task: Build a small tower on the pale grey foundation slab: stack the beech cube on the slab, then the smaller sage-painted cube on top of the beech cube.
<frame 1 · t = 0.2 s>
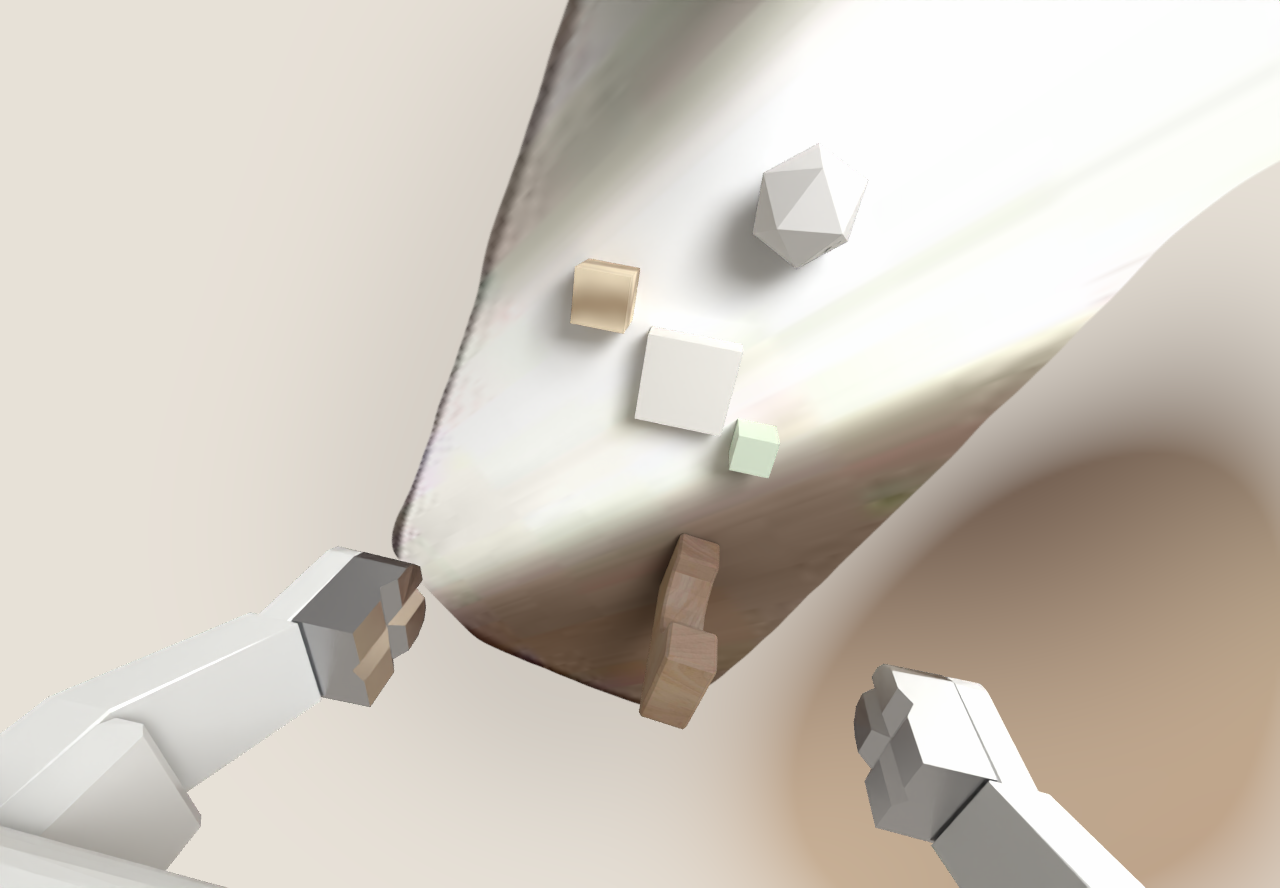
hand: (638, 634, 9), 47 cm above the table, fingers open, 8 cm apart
beech cube: (611, 289, 53), on the table
sage cube: (752, 438, 59), on the table
die: (800, 205, 47), on the table
decorative block: (688, 564, 70), on the table
foundation slab: (687, 377, 56), on the table
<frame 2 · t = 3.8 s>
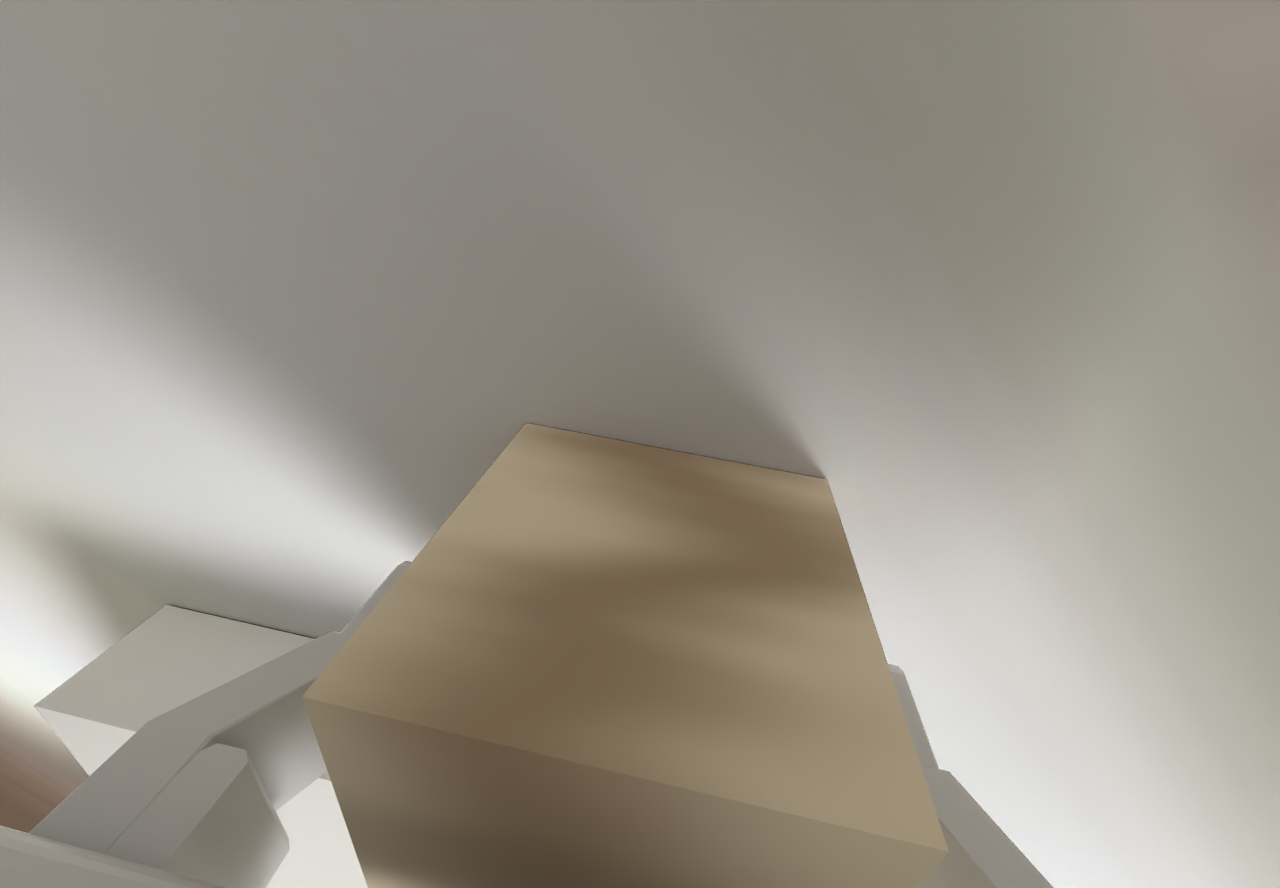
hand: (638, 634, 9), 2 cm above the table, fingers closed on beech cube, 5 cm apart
beech cube: (652, 564, 10), on the table, touching gripper
foundation slab: (363, 747, 16), on the table
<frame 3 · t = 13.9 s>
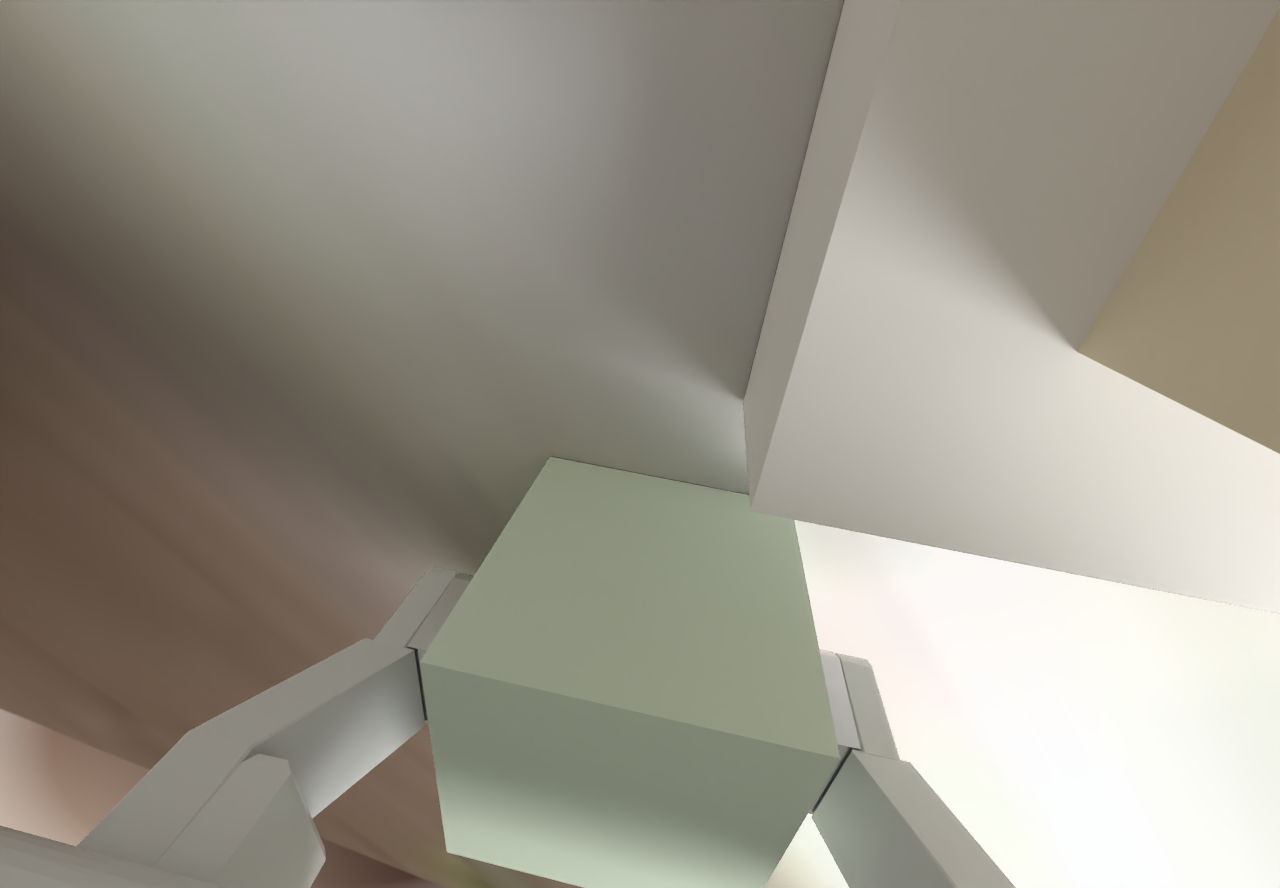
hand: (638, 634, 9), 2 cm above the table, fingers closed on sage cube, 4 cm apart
sage cube: (651, 569, 10), on the table, touching gripper
when the fingers open (11 cm above the table, at t = 19.8 s): sage cube stays where it is, resting on beech cube.
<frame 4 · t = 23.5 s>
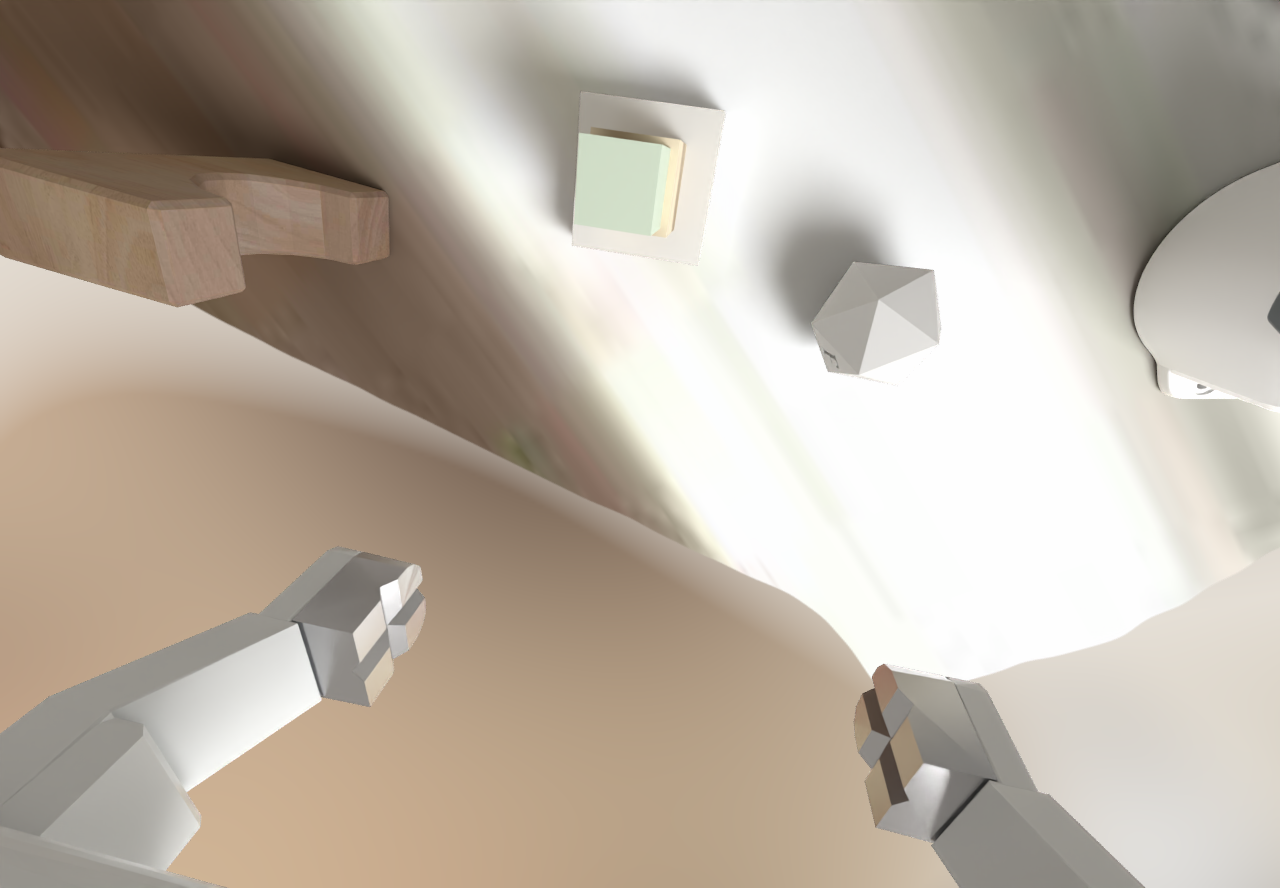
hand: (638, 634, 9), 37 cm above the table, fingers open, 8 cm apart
beech cube: (642, 183, 36), point 3 cm above the table, touching foundation slab, sage cube
sage cube: (630, 184, 31), point 8 cm above the table, touching beech cube
die: (863, 311, 41), on the table
decorative block: (333, 209, 44), on the table
foundation slab: (648, 183, 38), on the table
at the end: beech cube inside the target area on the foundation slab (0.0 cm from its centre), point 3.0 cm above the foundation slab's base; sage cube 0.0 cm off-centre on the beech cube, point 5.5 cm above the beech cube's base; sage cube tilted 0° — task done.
